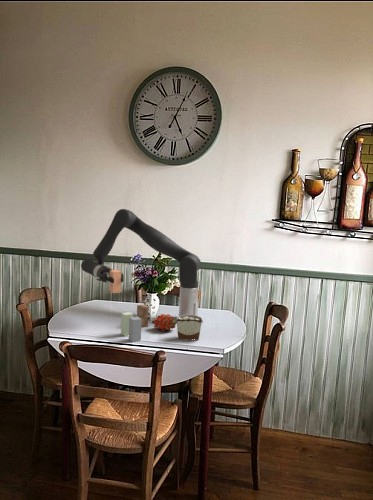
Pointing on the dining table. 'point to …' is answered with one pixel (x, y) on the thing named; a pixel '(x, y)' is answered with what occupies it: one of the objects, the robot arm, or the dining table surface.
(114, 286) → the terracotta block
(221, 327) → the dining table surface
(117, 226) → the robot arm
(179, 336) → the food container
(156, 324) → the dragon fruit
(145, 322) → the walnut block
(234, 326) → the dining table surface
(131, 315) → the sage block
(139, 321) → the slate block
